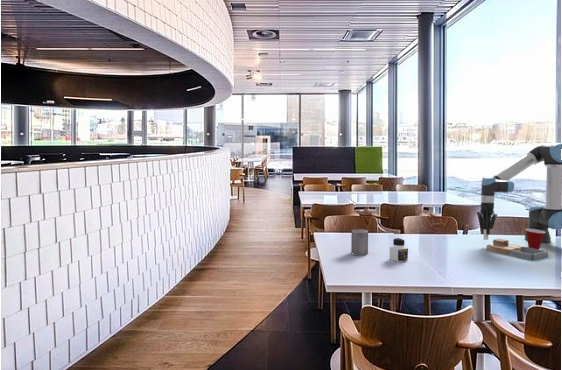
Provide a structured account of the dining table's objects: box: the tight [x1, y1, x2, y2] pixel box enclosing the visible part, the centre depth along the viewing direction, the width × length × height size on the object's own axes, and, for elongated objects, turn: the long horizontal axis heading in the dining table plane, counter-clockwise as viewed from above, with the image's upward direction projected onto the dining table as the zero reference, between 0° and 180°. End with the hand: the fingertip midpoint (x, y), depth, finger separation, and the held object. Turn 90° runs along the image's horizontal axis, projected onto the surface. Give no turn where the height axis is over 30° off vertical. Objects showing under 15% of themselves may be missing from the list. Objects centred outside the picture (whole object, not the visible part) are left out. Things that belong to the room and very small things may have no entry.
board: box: [486, 242, 525, 256], centre depth 272 cm, size 16×14×3 cm
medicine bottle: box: [388, 237, 409, 263], centre depth 250 cm, size 7×7×12 cm
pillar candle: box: [350, 228, 369, 256], centre depth 263 cm, size 10×10×15 cm
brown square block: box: [492, 238, 510, 246], centre depth 274 cm, size 6×6×3 cm
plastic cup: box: [525, 228, 545, 250], centre depth 275 cm, size 11×11×12 cm
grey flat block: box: [508, 246, 549, 261], centre depth 260 cm, size 15×14×3 cm
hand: (485, 239), depth 283 cm, fingers closed
